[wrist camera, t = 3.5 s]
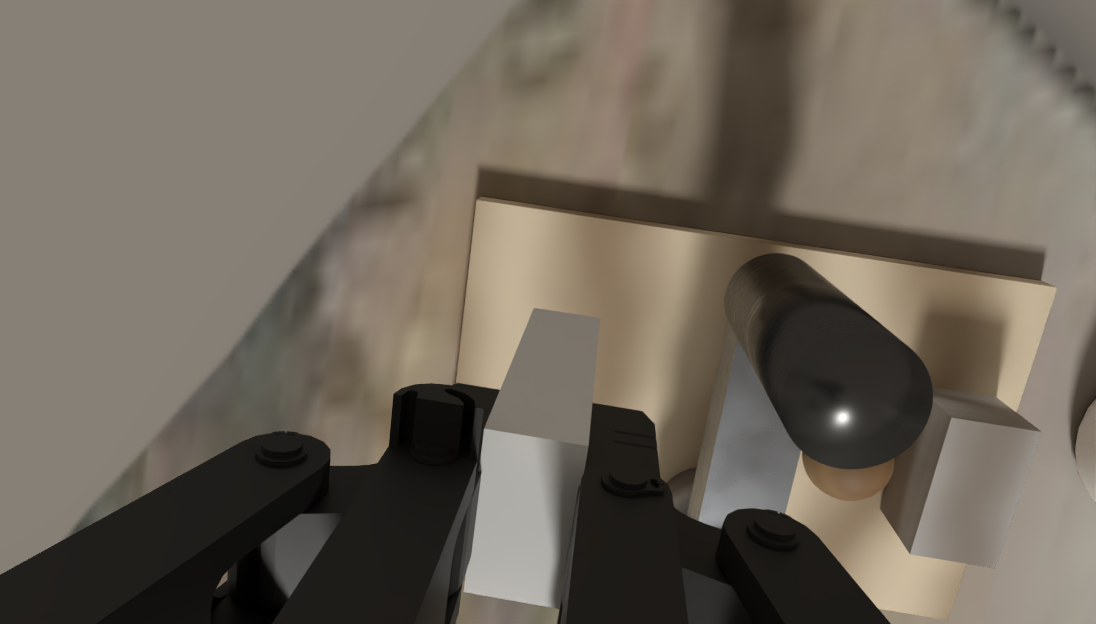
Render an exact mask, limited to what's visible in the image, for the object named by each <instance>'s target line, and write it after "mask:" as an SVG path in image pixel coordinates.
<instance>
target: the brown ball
mask: <svg viewBox="0 0 1096 624" xmlns="http://www.w3.org/2000/svg"><path fill="white" fill-rule="evenodd" d="M802 461H803V465H804V468H805V471H806V473H807V475H808V477H809V478H810V480H811V481H812V482H813V484H814V485H815V486H816V487H817V488H818V489H820V490H821V491H822V492H824V493H825V494H827V495H829V496H831V497H833V498H836V499H840V500H845V501H858V500H863V499H867V498H869V497H871V496H873V495H875V494H877V493H878V492H880V491H881V490H882V489H883V488H884V487H885V486H886V485H887V483H888V482H889V480H890V478H891V476H892V473H893V471H894V466H895V458H893V459H891V460H889V461H888V462H885V463H883V464H880V465H877V466H873V467H869V468H863V469H840V468H835V467H830V466H827V465H824V464H821V463H819V462H817V461H815V460H813V459H812V458H810V457H809V456H807V455H806V454H804V453H803V452H802Z"/></svg>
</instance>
